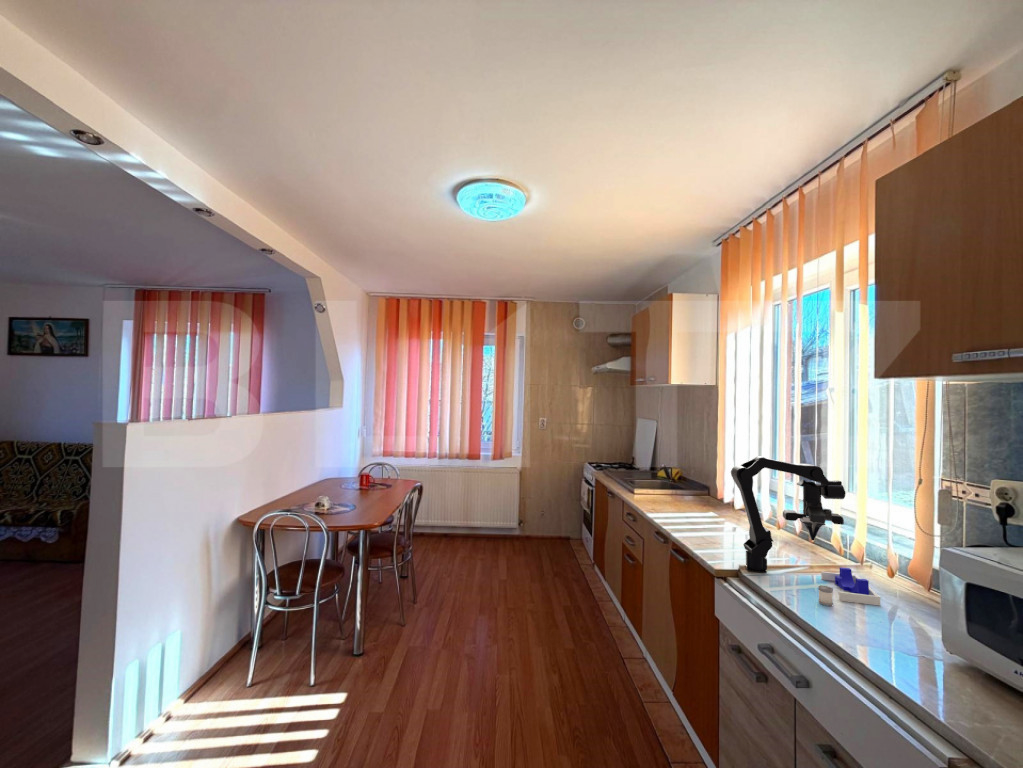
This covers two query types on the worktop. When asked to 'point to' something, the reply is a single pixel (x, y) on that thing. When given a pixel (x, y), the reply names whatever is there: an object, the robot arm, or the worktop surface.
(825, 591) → the grey cylinder
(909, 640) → the worktop surface
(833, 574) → the parts tray
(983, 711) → the worktop surface
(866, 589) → the cable clip
